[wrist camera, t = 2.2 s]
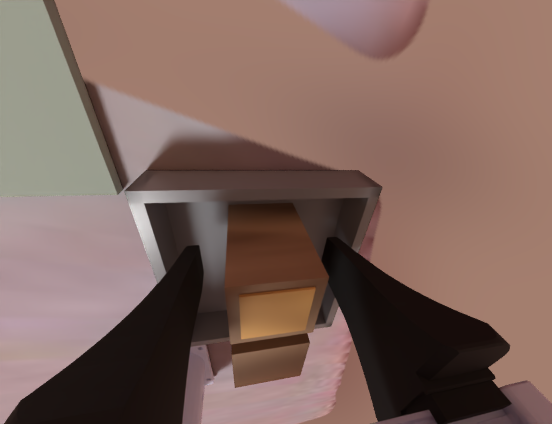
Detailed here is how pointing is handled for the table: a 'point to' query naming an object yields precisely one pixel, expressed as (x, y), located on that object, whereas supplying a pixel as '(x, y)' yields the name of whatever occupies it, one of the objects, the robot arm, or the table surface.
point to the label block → (270, 273)
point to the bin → (214, 220)
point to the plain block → (269, 359)
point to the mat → (46, 110)
